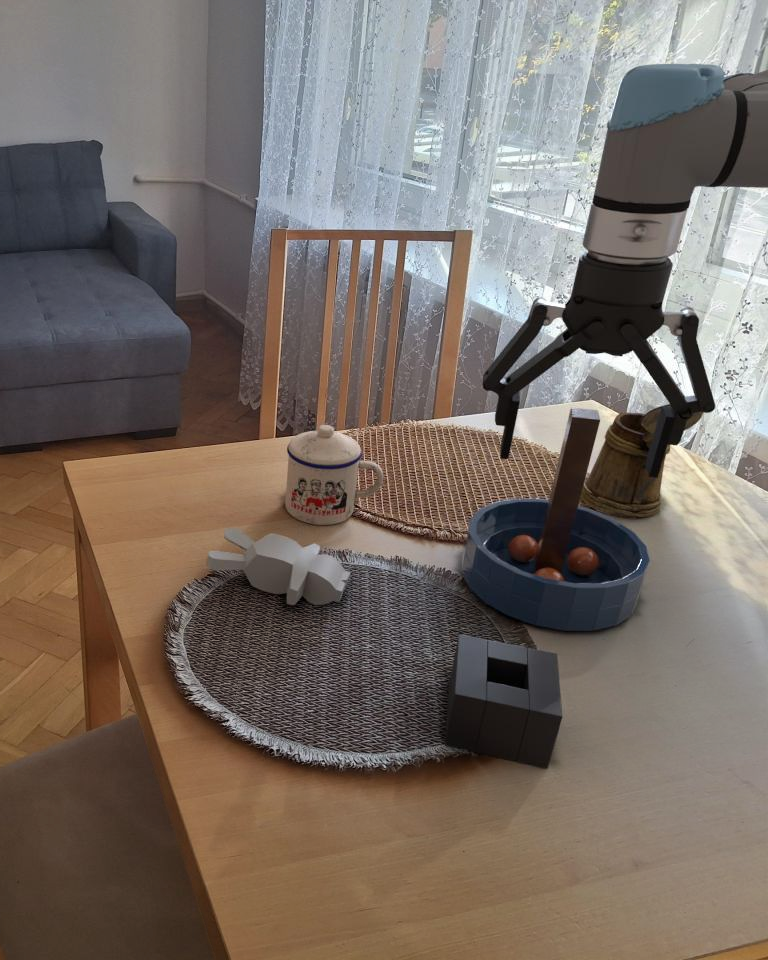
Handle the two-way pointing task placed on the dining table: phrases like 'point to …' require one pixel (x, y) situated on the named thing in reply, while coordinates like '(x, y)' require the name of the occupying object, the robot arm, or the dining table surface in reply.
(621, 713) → the dining table surface
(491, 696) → the holder
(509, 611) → the bowl
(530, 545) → the bead
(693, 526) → the dining table surface
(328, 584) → the bunny figurine
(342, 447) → the teacup with lid
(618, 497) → the wooden mug
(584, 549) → the bead
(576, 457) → the stick
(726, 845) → the dining table surface
